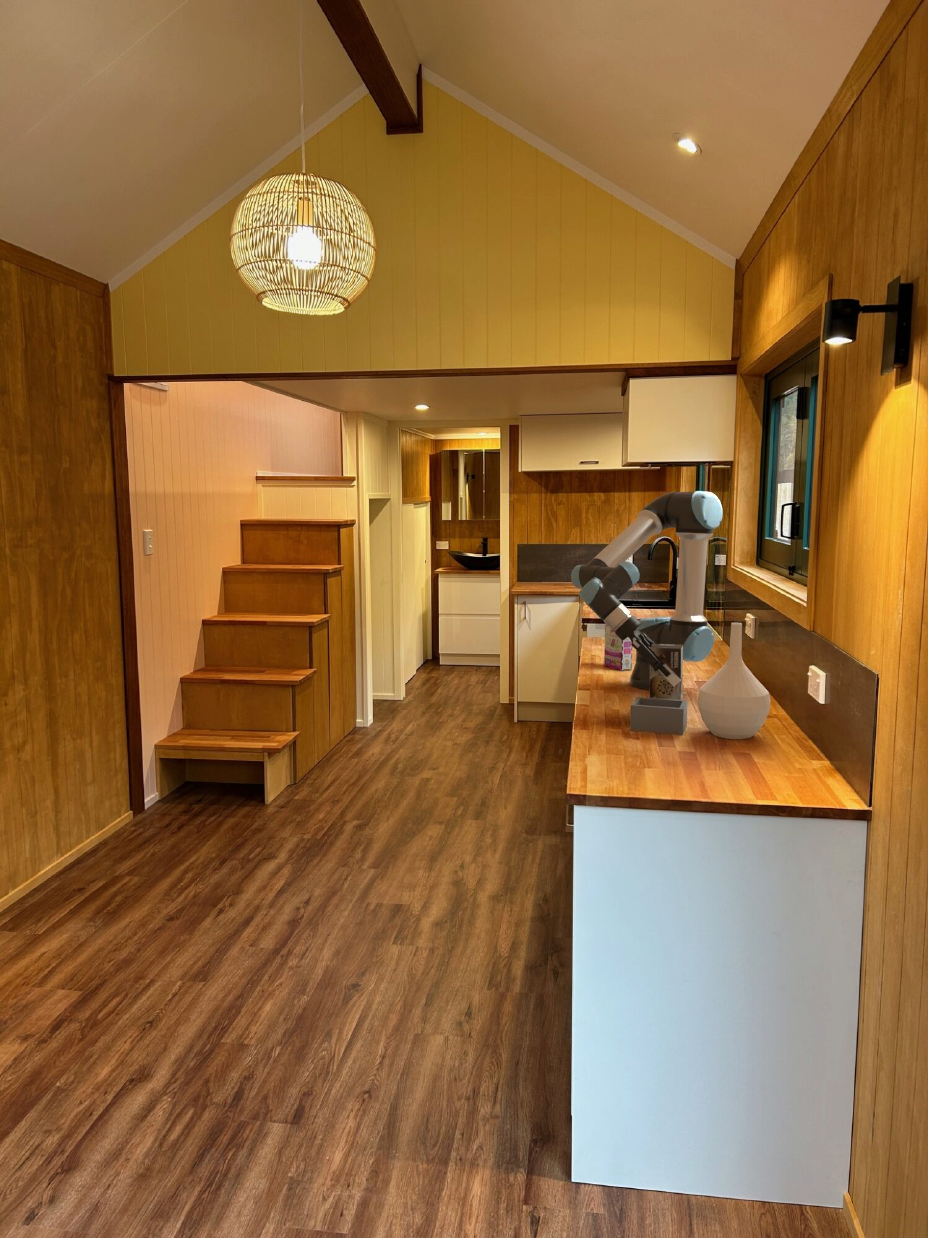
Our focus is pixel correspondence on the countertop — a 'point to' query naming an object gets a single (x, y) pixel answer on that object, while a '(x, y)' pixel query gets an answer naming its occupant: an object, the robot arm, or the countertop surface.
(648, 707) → the rectangular open box
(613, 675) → the countertop surface
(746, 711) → the vase
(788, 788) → the countertop surface
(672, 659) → the coffee box
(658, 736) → the countertop surface
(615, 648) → the candy bar box
